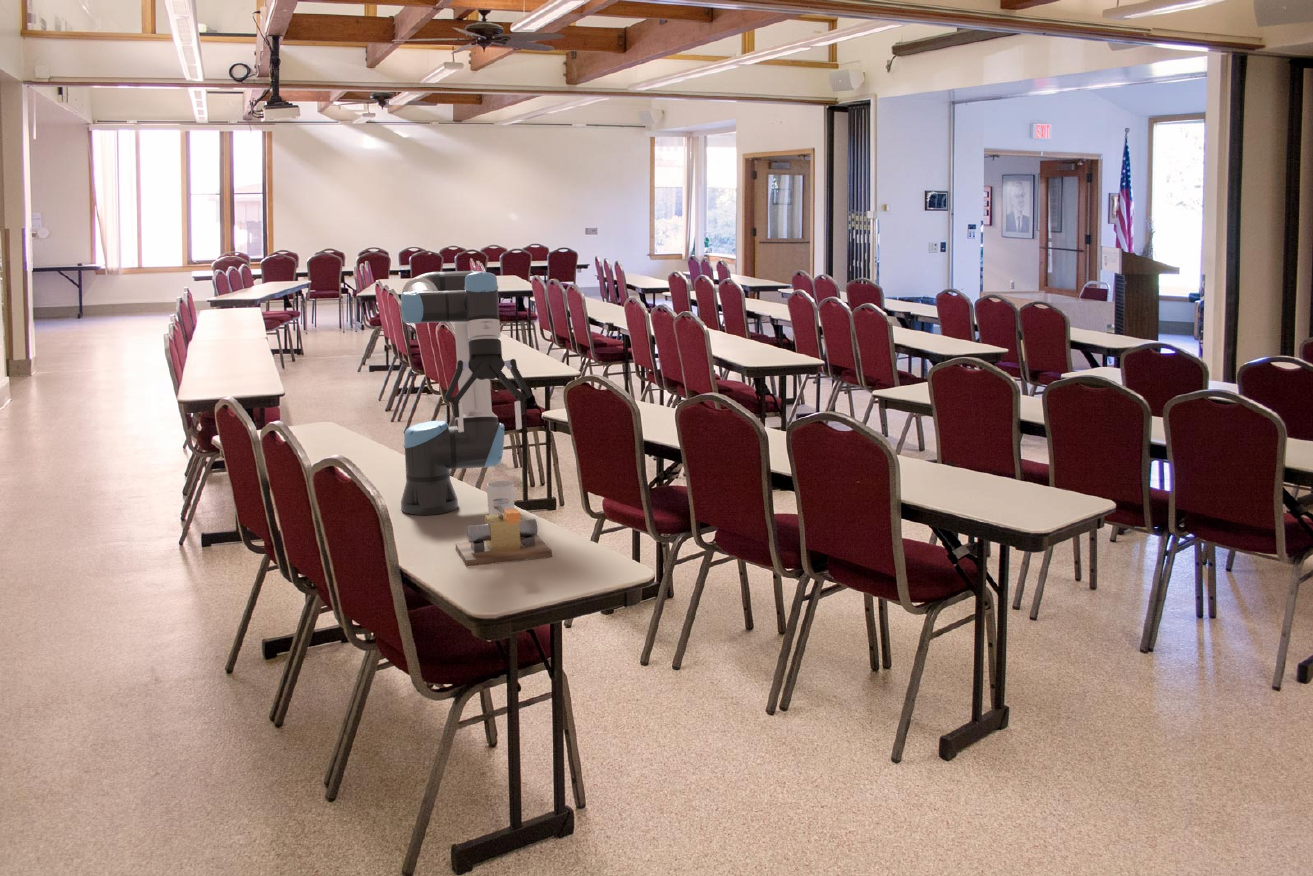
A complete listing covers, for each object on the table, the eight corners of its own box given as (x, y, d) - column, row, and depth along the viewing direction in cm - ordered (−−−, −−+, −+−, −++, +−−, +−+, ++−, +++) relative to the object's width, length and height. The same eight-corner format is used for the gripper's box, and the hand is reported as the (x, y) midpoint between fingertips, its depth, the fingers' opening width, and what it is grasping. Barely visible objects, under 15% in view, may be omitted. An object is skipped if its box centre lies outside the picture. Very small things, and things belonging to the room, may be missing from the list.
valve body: (466, 546, 267) (464, 508, 265) (532, 539, 272) (531, 502, 270) (472, 554, 260) (470, 516, 258) (539, 547, 266) (538, 509, 264)
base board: (455, 549, 270) (455, 543, 269) (537, 540, 276) (537, 534, 276) (466, 566, 257) (466, 560, 256) (551, 556, 263) (551, 550, 263)
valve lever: (492, 507, 265) (491, 498, 265) (507, 505, 267) (506, 496, 266) (505, 523, 252) (505, 514, 251) (521, 522, 253) (521, 512, 252)
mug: (517, 531, 284) (516, 485, 281) (491, 534, 281) (489, 488, 279) (509, 521, 293) (508, 476, 290) (484, 524, 291) (482, 478, 288)
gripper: (433, 338, 255) (439, 432, 254) (540, 336, 263) (546, 426, 262) (428, 342, 262) (433, 434, 261) (533, 340, 270) (538, 428, 269)
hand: (490, 430), depth 262 cm, fingers open, 13 cm apart
